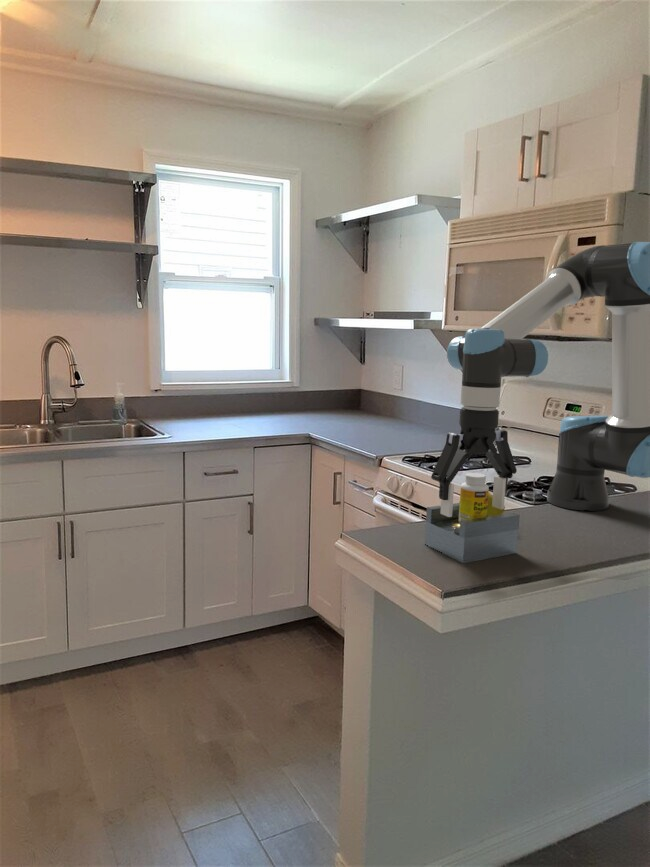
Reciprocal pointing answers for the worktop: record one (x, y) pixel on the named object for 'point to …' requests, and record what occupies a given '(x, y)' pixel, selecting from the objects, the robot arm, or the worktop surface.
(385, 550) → the worktop surface
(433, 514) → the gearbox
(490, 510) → the lemon
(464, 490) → the supplement bottle
